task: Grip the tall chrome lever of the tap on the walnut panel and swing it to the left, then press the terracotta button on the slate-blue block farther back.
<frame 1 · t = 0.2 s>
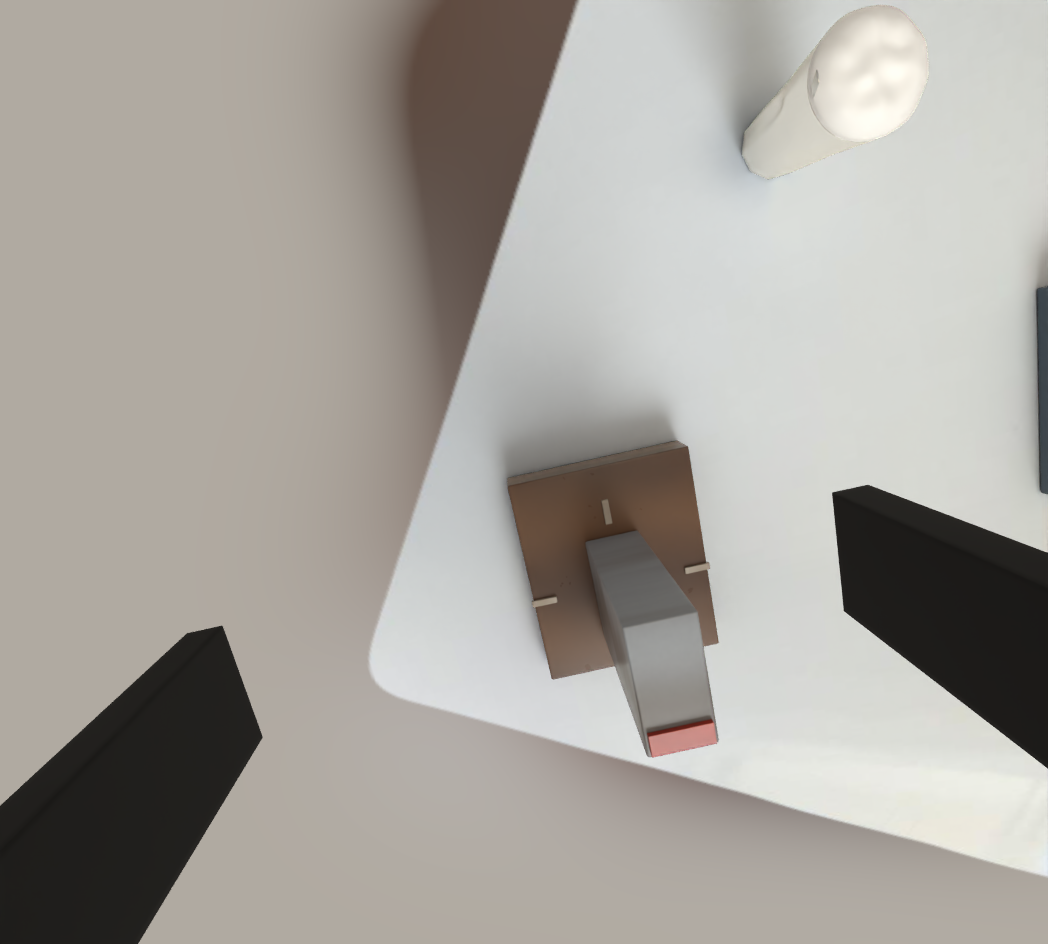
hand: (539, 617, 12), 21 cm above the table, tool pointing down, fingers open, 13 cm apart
tap lever: (642, 628, 28), point 7 cm above the table, hinge at 0.0°
milkshake: (762, 149, 30), on the table
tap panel: (610, 555, 35), on the table
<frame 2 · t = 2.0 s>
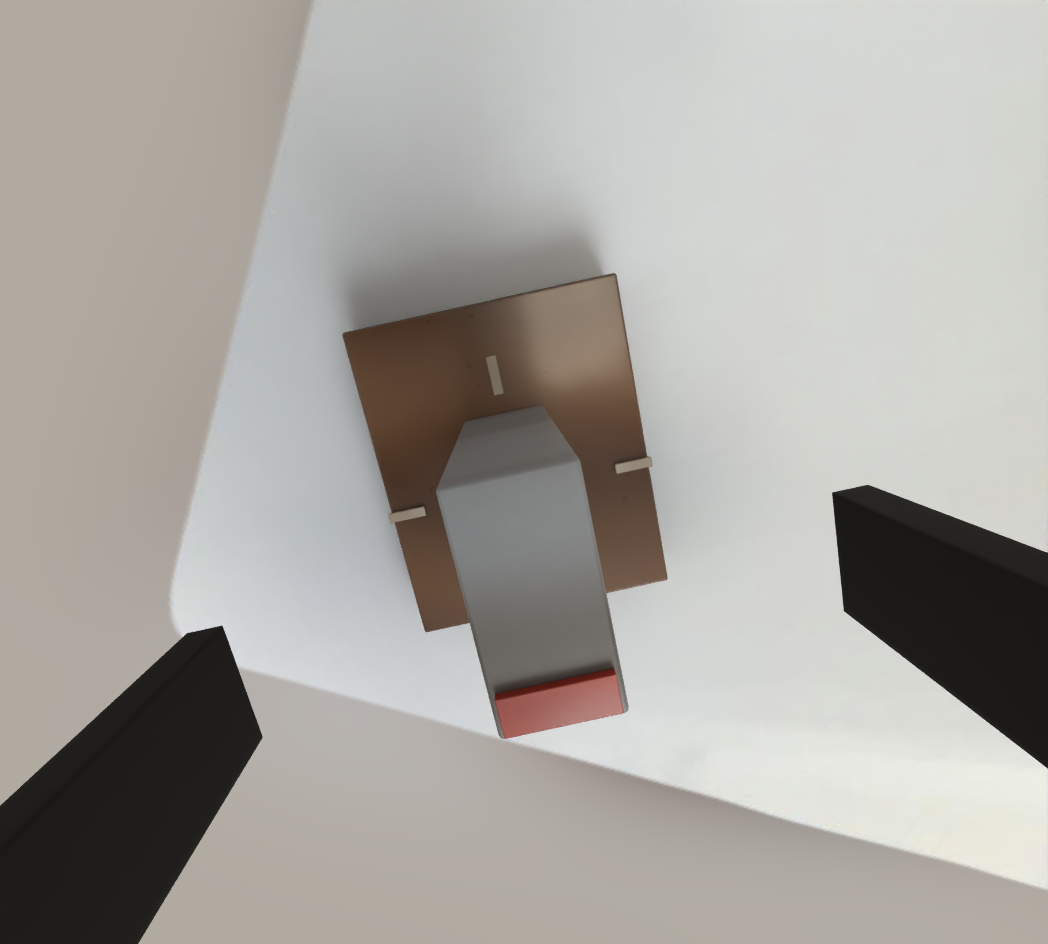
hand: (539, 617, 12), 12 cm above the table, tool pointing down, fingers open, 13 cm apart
tap lever: (526, 533, 17), point 7 cm above the table, hinge at 0.0°
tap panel: (513, 454, 24), on the table
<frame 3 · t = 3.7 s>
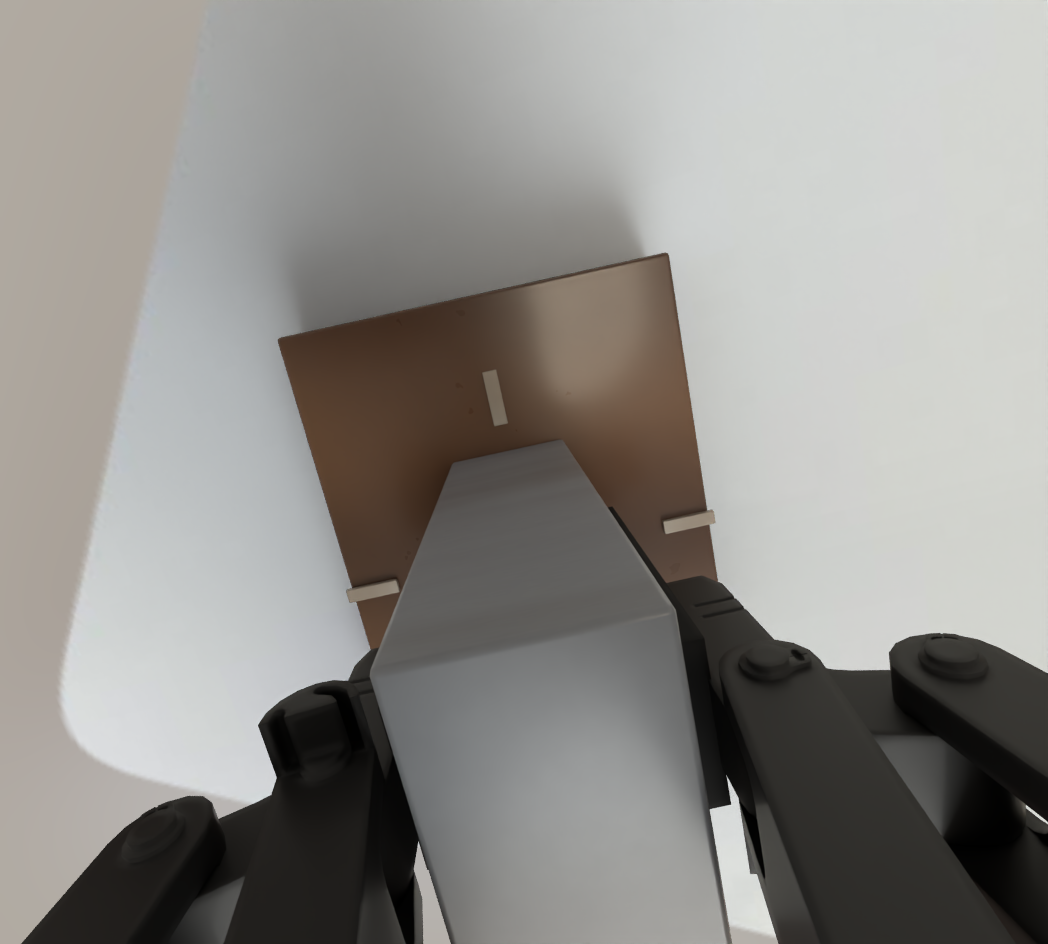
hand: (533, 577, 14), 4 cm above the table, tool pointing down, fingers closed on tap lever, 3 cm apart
tap lever: (545, 652, 11), point 7 cm above the table, hinge at -0.1°, touching gripper
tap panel: (520, 501, 18), on the table
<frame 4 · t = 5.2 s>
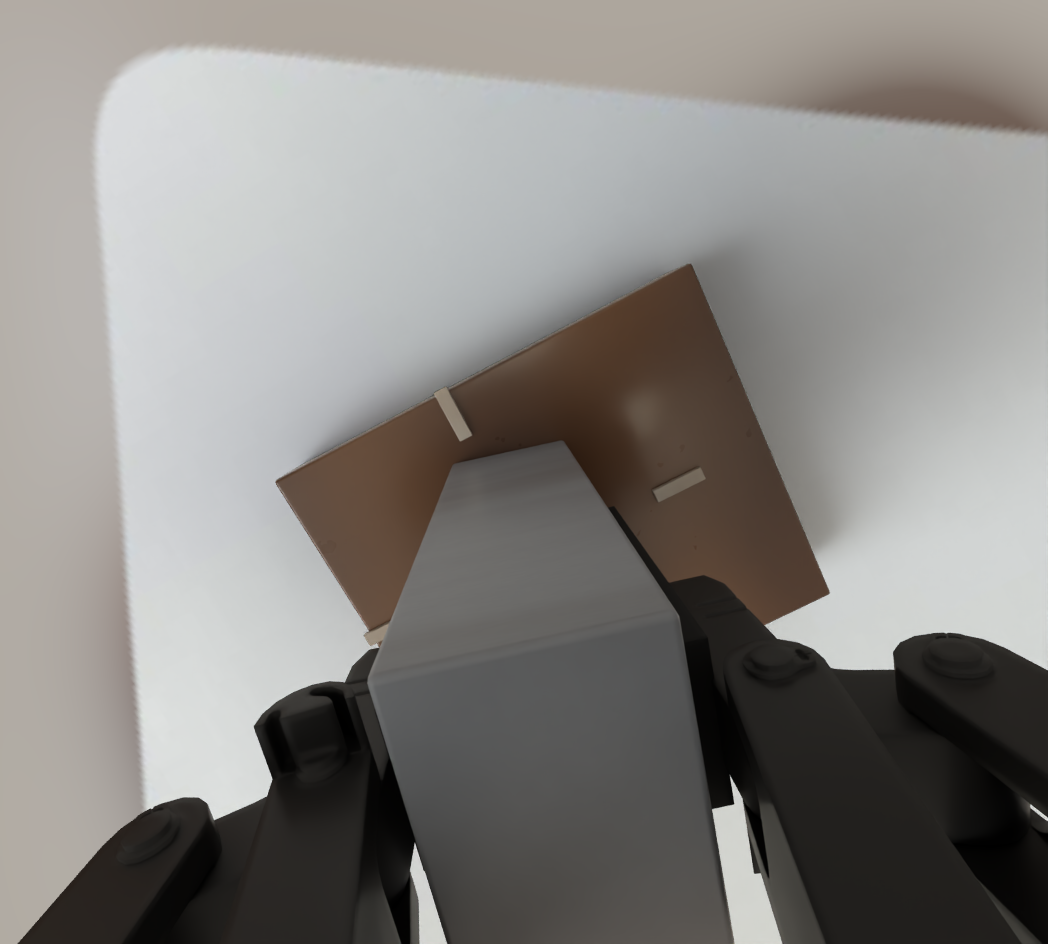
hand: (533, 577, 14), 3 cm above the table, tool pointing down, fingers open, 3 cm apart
tap lever: (546, 656, 11), point 7 cm above the table, hinge at 74.9°
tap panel: (557, 518, 18), on the table
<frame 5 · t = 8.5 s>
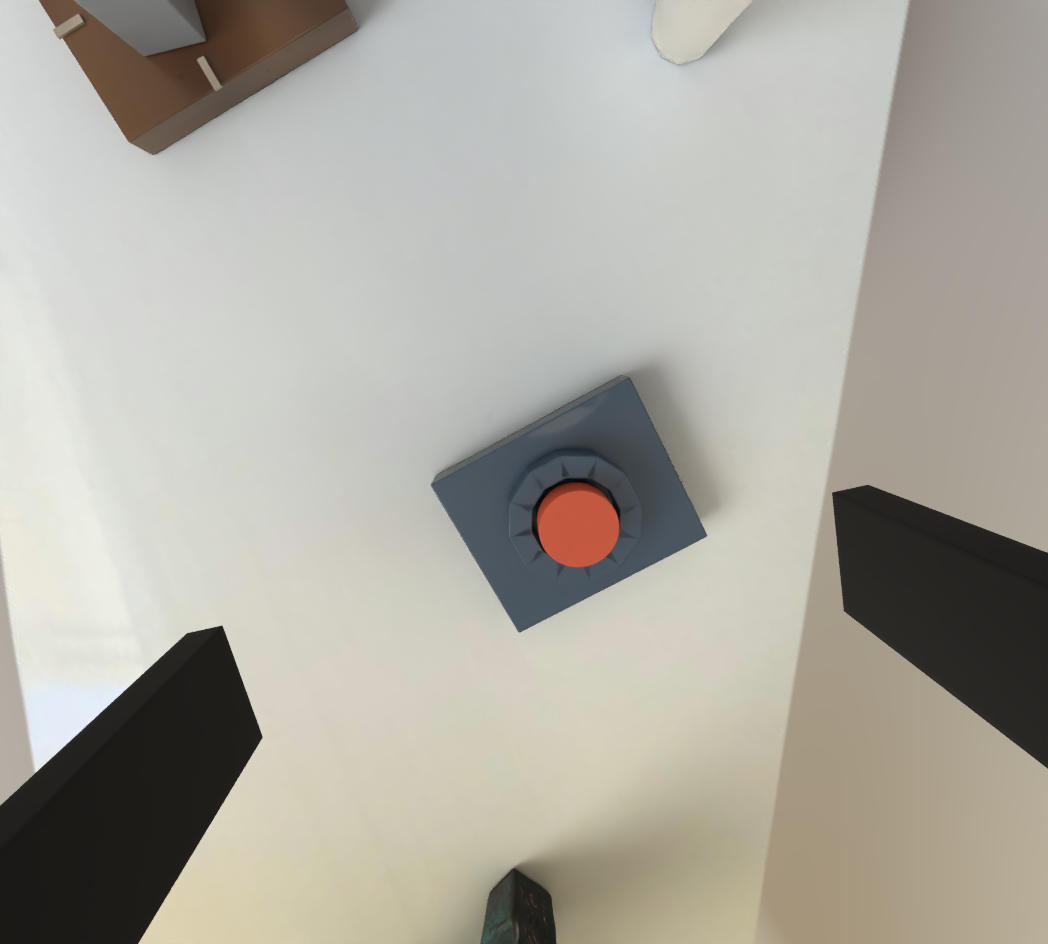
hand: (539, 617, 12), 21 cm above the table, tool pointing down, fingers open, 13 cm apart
button block: (567, 500, 34), on the table
milkshake: (677, 22, 29), on the table
button: (577, 524, 29), point 4 cm above the table, slide at 0.1 cm
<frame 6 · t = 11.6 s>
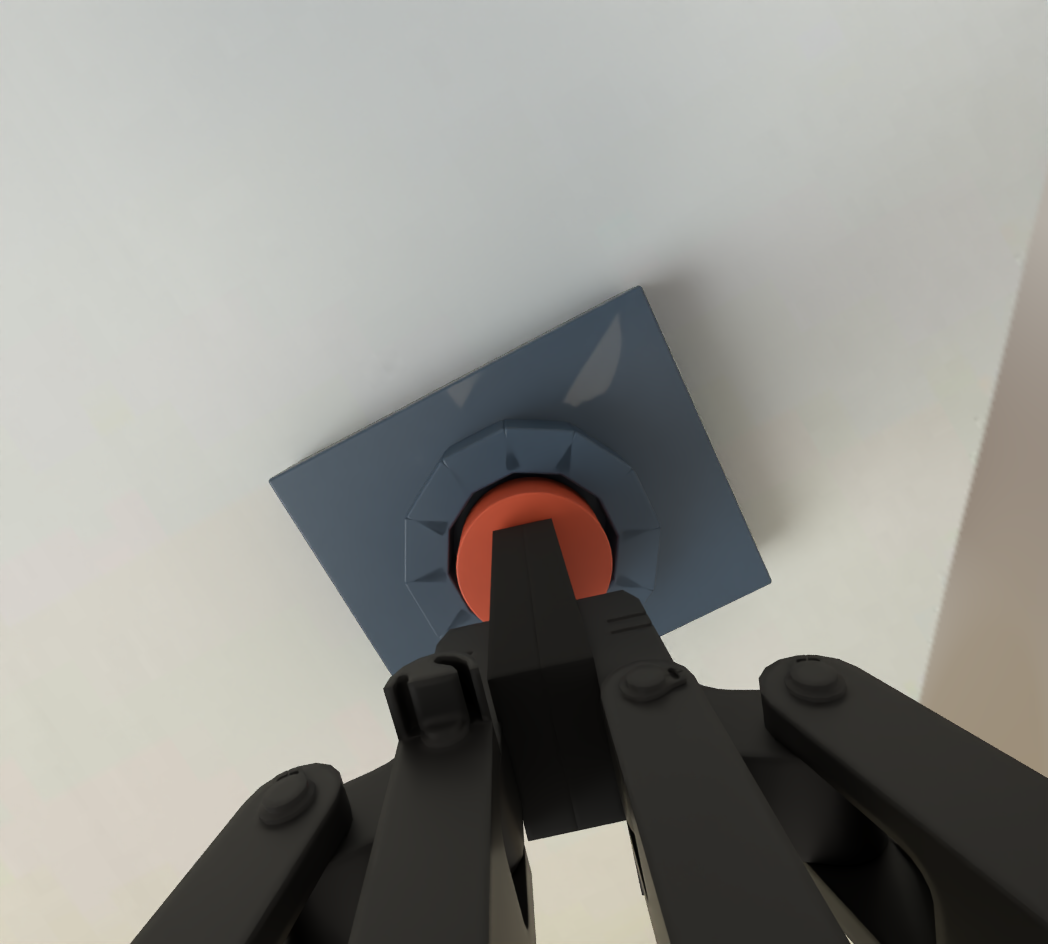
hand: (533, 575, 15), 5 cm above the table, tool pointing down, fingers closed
button block: (526, 513, 20), on the table
button: (533, 555, 16), point 4 cm above the table, slide at -0.3 cm, touching gripper
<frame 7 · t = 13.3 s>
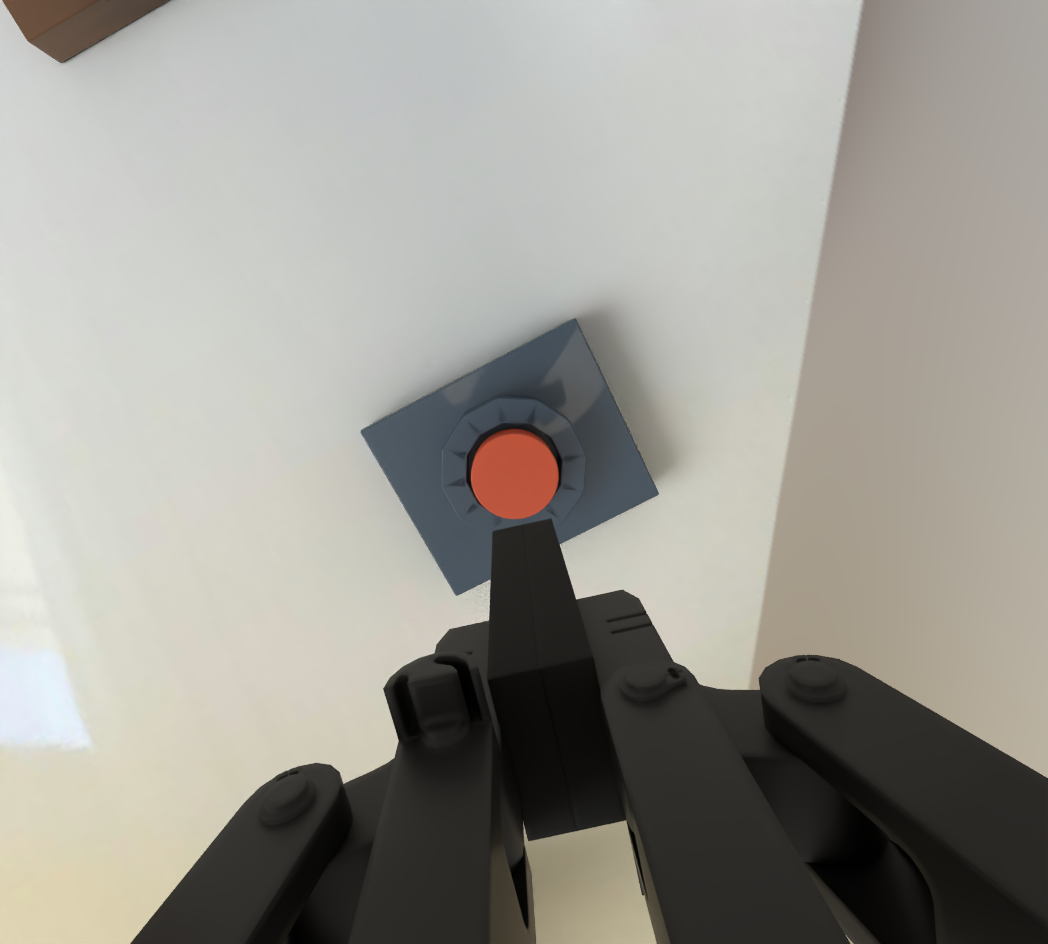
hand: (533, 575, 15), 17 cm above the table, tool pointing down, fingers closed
button block: (512, 455, 32), on the table
button: (514, 473, 27), point 4 cm above the table, slide at 0.1 cm
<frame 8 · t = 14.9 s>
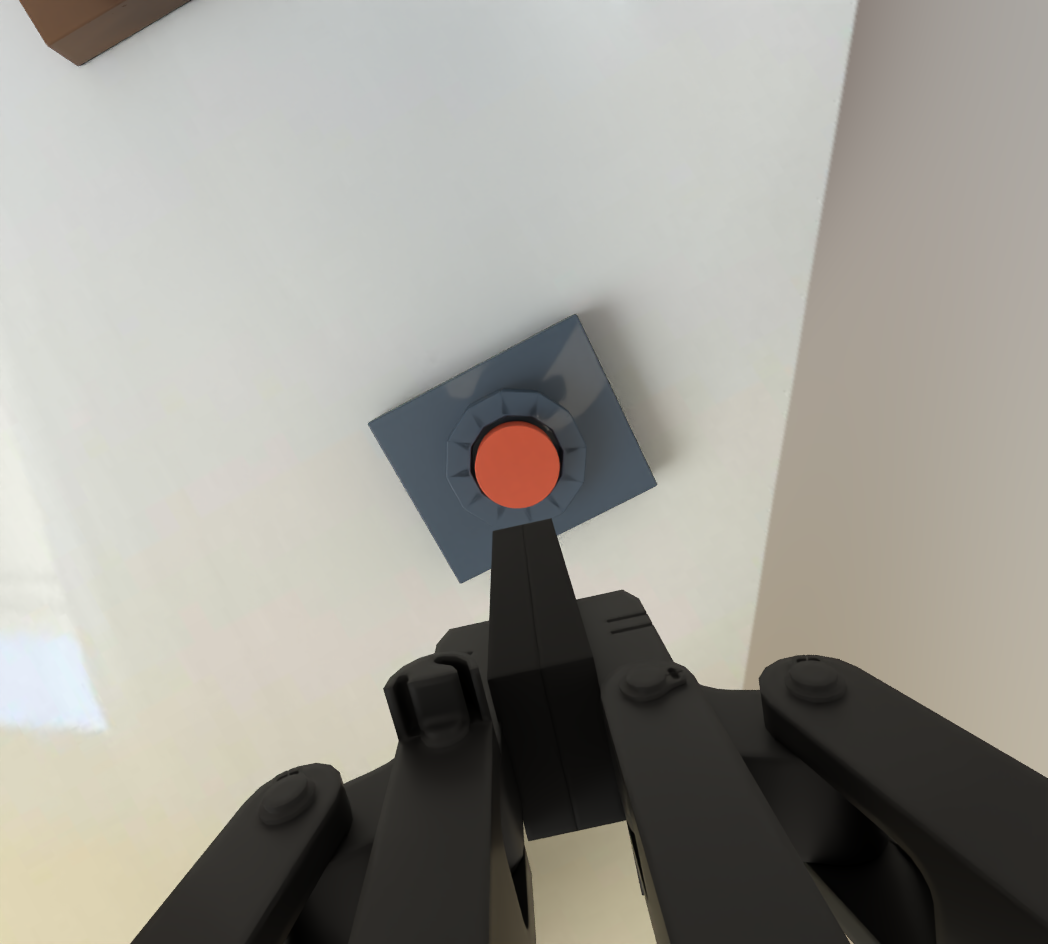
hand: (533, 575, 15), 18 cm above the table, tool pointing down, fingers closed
button block: (514, 448, 32), on the table
button: (516, 464, 28), point 4 cm above the table, slide at 0.1 cm
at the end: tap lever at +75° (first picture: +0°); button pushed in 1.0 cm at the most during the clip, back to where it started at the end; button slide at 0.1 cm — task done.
